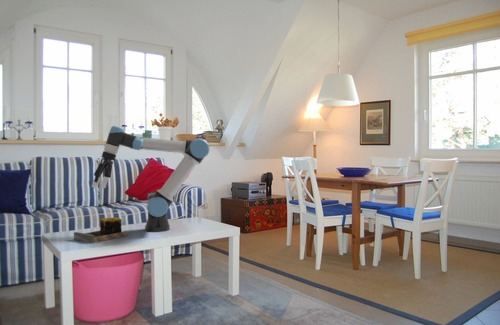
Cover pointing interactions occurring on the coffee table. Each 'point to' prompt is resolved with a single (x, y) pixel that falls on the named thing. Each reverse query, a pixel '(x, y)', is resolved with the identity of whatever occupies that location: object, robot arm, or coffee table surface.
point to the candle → (110, 226)
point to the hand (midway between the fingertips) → (98, 187)
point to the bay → (91, 239)
